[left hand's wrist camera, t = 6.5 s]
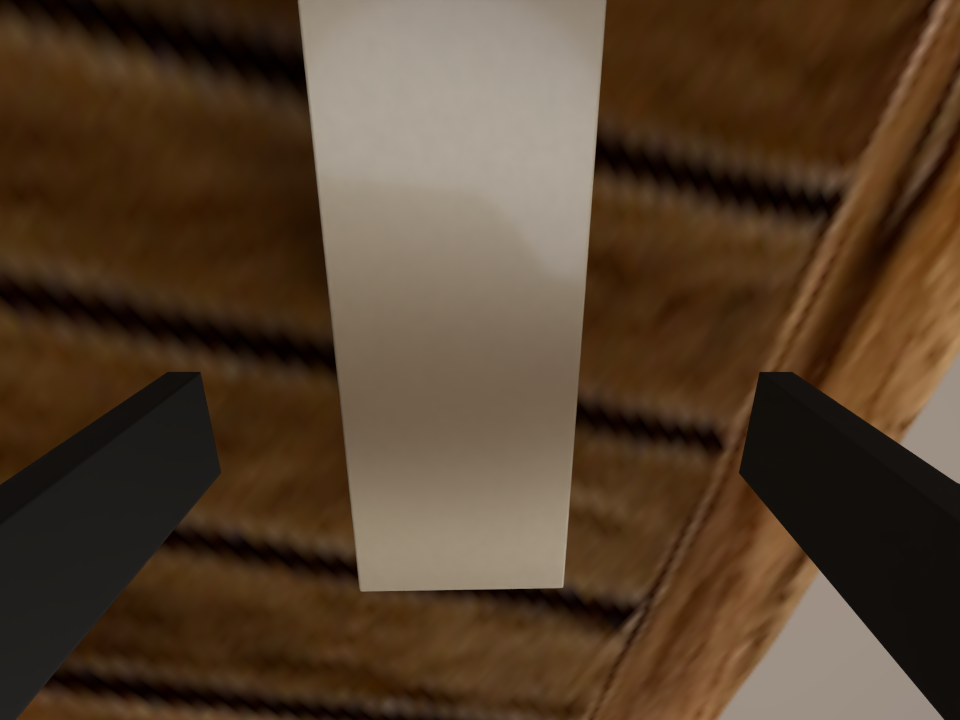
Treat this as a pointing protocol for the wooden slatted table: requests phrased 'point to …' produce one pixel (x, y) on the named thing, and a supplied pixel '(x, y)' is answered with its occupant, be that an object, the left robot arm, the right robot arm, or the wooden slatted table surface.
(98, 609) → the left robot arm
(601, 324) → the wooden slatted table surface
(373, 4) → the ash beam
